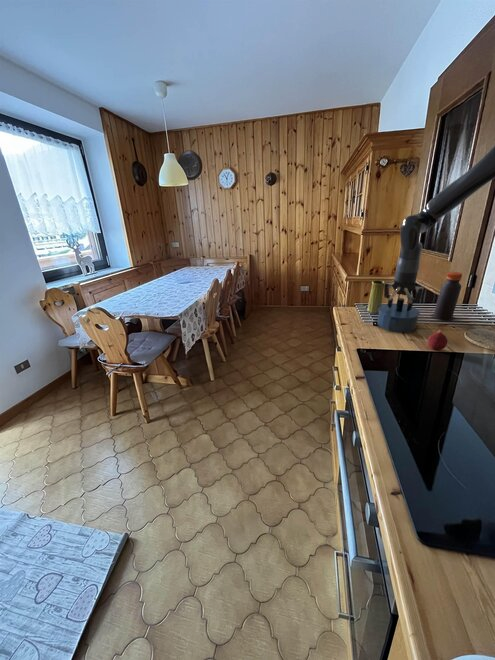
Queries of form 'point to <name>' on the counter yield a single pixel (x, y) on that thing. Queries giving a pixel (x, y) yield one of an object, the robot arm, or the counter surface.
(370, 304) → the vase
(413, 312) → the lid
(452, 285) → the bottle
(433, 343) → the onion
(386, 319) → the pot
